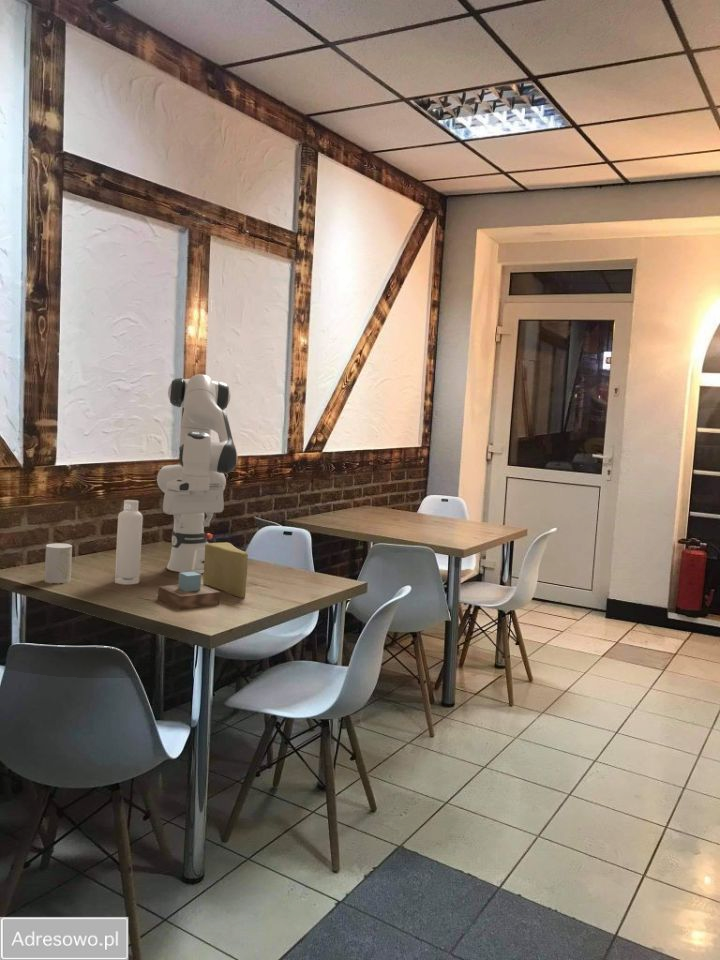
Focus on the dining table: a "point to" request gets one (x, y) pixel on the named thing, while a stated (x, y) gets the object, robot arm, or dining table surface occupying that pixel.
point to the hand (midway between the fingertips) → (192, 527)
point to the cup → (58, 563)
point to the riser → (188, 596)
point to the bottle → (128, 544)
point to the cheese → (225, 568)
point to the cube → (189, 581)
